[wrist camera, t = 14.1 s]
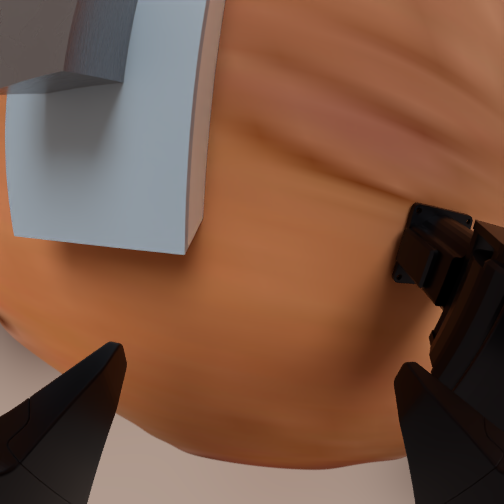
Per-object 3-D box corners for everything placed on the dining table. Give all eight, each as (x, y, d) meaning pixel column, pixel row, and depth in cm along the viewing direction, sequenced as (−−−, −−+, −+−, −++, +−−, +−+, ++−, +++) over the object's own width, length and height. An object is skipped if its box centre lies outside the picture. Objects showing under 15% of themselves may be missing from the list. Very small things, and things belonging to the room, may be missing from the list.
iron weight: (139, -7, 9) (93, -48, 4) (123, 82, 11) (63, 71, 6) (59, 12, 9) (2, -7, 4) (45, 93, 11) (-21, 96, 6)
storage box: (237, -64, 11) (233, -101, 6) (202, 218, 20) (187, 248, 15) (88, -42, 10) (58, -64, 6) (59, 208, 19) (21, 231, 15)
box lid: (233, -101, 6) (232, -108, 5) (187, 248, 15) (184, 254, 15) (58, -64, 6) (53, -68, 5) (21, 231, 15) (14, 235, 14)
